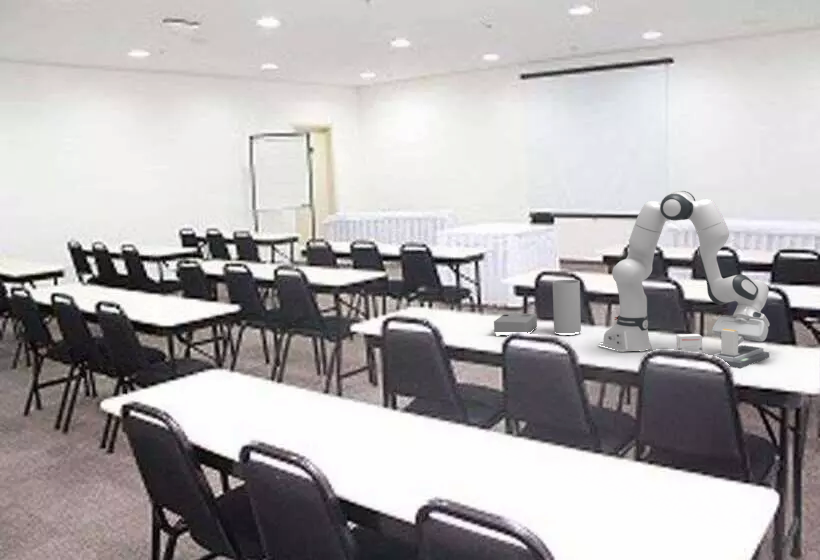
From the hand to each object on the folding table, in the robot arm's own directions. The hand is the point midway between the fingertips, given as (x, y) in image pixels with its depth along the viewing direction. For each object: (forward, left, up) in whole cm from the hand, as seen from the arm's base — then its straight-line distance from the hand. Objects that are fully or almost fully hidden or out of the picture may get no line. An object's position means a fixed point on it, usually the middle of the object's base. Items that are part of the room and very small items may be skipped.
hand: (732, 346), depth 284 cm
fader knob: (0, -2, -4) cm, 5 cm away
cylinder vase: (-84, +4, -7) cm, 84 cm away
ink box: (-10, -13, -7) cm, 18 cm away
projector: (-106, -9, -7) cm, 106 cm away
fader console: (0, +5, -6) cm, 8 cm away
